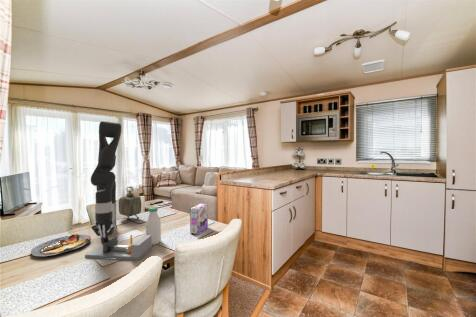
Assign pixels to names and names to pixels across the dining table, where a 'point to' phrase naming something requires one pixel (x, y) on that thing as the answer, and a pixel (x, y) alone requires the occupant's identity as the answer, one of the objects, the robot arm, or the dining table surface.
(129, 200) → the tabletop clock
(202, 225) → the candy box
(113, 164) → the robot arm
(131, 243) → the needle
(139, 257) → the base
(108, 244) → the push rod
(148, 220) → the milk bottle
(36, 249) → the food plate
